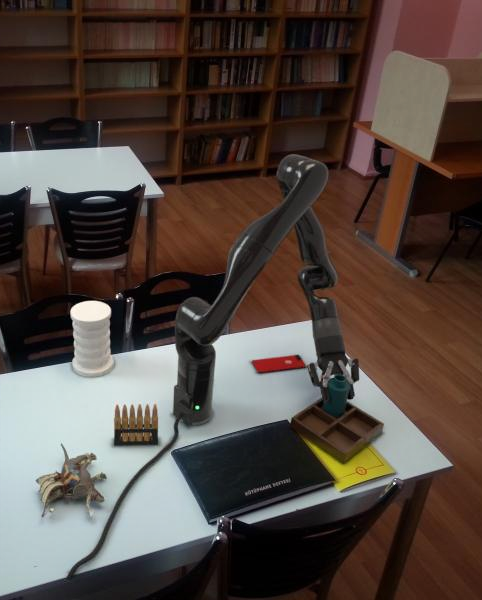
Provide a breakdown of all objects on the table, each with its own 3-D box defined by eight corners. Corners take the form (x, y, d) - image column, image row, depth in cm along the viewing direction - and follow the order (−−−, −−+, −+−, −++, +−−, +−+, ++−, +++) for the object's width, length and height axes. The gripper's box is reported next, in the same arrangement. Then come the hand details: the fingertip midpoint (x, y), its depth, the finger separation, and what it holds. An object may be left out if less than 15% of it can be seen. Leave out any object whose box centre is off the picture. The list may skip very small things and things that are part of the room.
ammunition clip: (113, 445, 148) (112, 407, 142) (114, 440, 149) (113, 401, 143) (158, 444, 149) (159, 406, 143) (158, 439, 150) (159, 401, 145)
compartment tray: (343, 463, 147) (345, 454, 146) (289, 426, 157) (291, 417, 156) (381, 432, 157) (384, 423, 156) (329, 400, 168) (330, 391, 166)
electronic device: (258, 373, 176) (306, 367, 180) (258, 371, 176) (306, 365, 180) (251, 361, 181) (298, 355, 185) (251, 360, 181) (298, 354, 185)
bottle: (335, 422, 159) (342, 387, 153) (317, 411, 162) (324, 376, 156) (348, 413, 162) (355, 378, 156) (330, 402, 165) (337, 368, 160)
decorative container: (80, 350, 181) (77, 297, 172) (118, 355, 180) (117, 303, 171) (66, 373, 171) (62, 319, 162) (106, 379, 170) (105, 324, 161)
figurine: (127, 483, 131) (59, 527, 120) (126, 501, 134) (60, 545, 124) (73, 430, 142) (7, 466, 132) (74, 448, 146) (9, 484, 135)
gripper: (307, 336, 157) (318, 402, 153) (359, 331, 160) (371, 396, 156) (297, 342, 164) (308, 405, 160) (347, 337, 167) (358, 399, 163)
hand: (339, 400), depth 158 cm, fingers open, 6 cm apart
